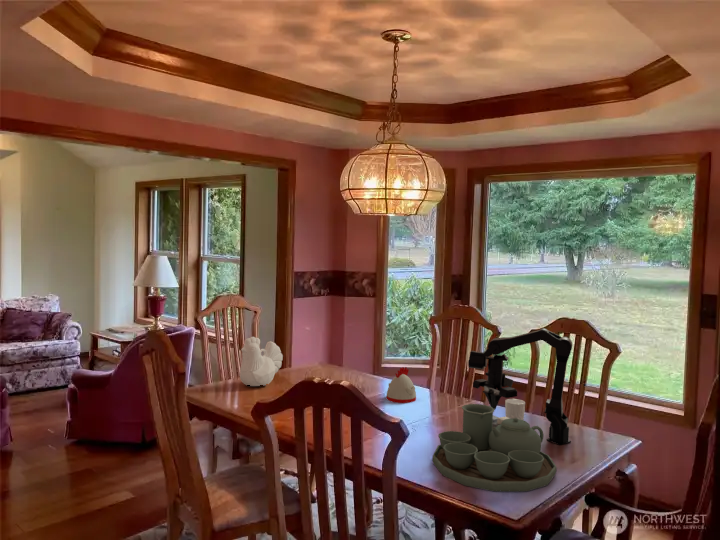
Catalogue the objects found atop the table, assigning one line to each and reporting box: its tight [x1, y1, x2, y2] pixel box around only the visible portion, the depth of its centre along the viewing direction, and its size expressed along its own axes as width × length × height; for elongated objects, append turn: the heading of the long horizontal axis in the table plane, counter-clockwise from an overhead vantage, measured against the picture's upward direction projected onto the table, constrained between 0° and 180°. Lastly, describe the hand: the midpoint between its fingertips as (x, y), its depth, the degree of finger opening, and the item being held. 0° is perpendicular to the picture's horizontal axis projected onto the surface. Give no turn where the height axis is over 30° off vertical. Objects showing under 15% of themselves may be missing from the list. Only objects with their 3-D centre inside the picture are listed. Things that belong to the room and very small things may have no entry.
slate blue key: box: [493, 414, 500, 422], centre depth 235 cm, size 4×4×3 cm
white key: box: [497, 416, 510, 425], centre depth 230 cm, size 4×4×3 cm
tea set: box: [432, 403, 557, 493], centre depth 199 cm, size 40×40×16 cm
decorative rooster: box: [239, 336, 284, 387], centre depth 299 cm, size 25×16×25 cm, turn 126°
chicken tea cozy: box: [385, 366, 417, 404], centre depth 279 cm, size 14×14×15 cm
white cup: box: [504, 398, 526, 421], centre depth 244 cm, size 8×8×10 cm
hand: (493, 409), depth 235 cm, fingers closed
